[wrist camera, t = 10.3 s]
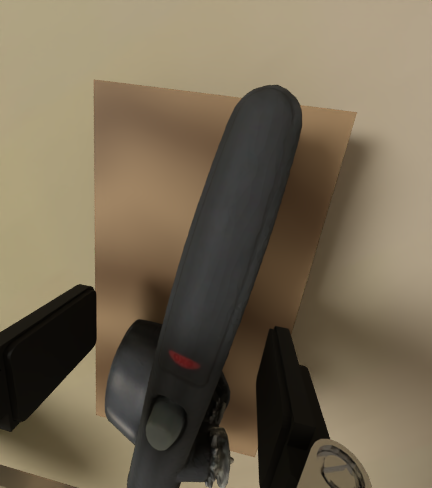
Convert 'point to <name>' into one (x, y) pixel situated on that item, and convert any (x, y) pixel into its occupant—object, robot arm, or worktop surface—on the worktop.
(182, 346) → the can opener
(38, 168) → the worktop surface
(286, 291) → the stand
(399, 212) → the worktop surface
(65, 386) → the worktop surface
